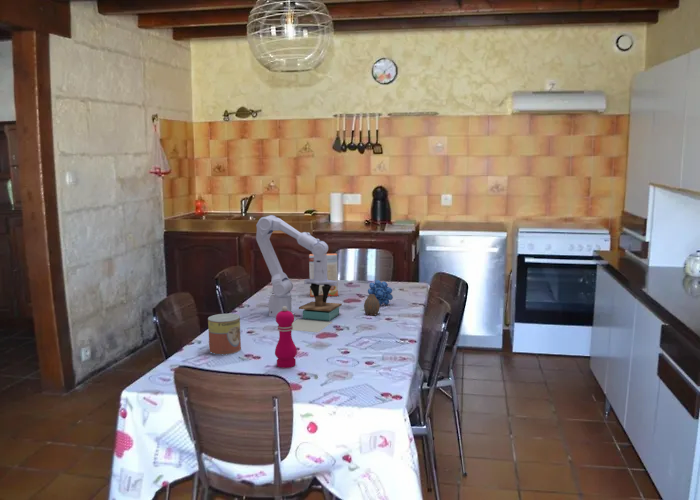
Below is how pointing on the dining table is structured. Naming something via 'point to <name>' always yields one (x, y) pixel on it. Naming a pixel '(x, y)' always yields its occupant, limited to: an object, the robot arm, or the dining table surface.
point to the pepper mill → (285, 340)
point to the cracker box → (331, 273)
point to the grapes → (381, 292)
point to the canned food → (224, 333)
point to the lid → (320, 305)
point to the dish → (320, 314)
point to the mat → (309, 325)
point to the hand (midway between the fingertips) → (321, 301)
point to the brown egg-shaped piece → (371, 305)
